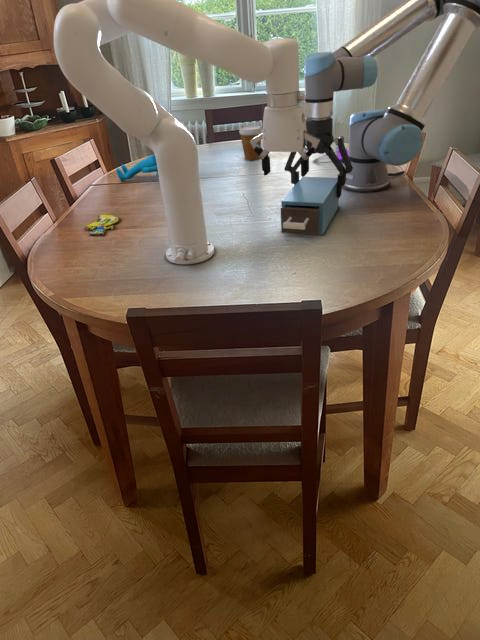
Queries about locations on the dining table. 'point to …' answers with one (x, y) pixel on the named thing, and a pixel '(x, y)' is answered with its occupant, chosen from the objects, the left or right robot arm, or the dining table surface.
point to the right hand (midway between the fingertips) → (317, 195)
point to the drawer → (300, 219)
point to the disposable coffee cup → (246, 136)
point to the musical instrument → (334, 152)
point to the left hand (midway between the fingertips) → (285, 174)
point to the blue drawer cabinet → (315, 197)
